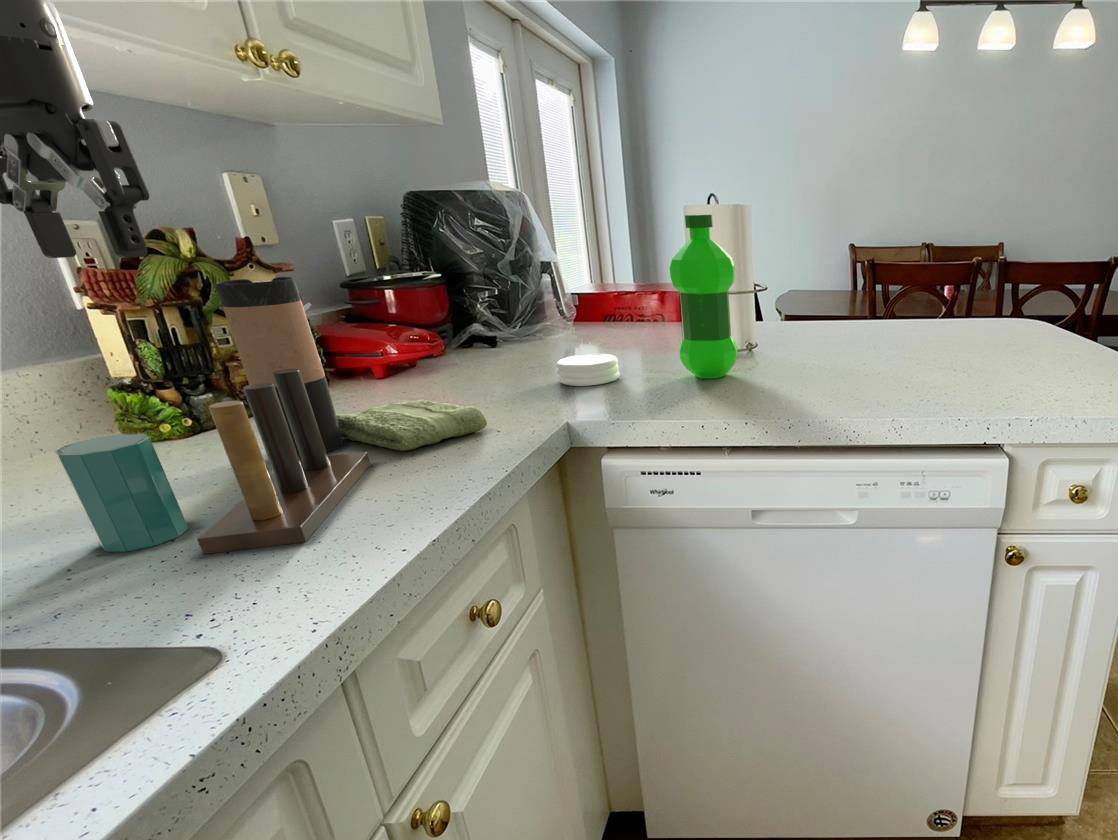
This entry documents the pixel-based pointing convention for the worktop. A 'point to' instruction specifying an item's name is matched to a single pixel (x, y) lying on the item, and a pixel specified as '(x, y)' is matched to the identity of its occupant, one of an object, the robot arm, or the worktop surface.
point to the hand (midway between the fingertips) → (97, 257)
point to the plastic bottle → (704, 301)
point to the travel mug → (279, 343)
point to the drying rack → (278, 468)
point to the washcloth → (410, 424)
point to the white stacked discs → (588, 369)
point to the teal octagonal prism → (123, 491)
